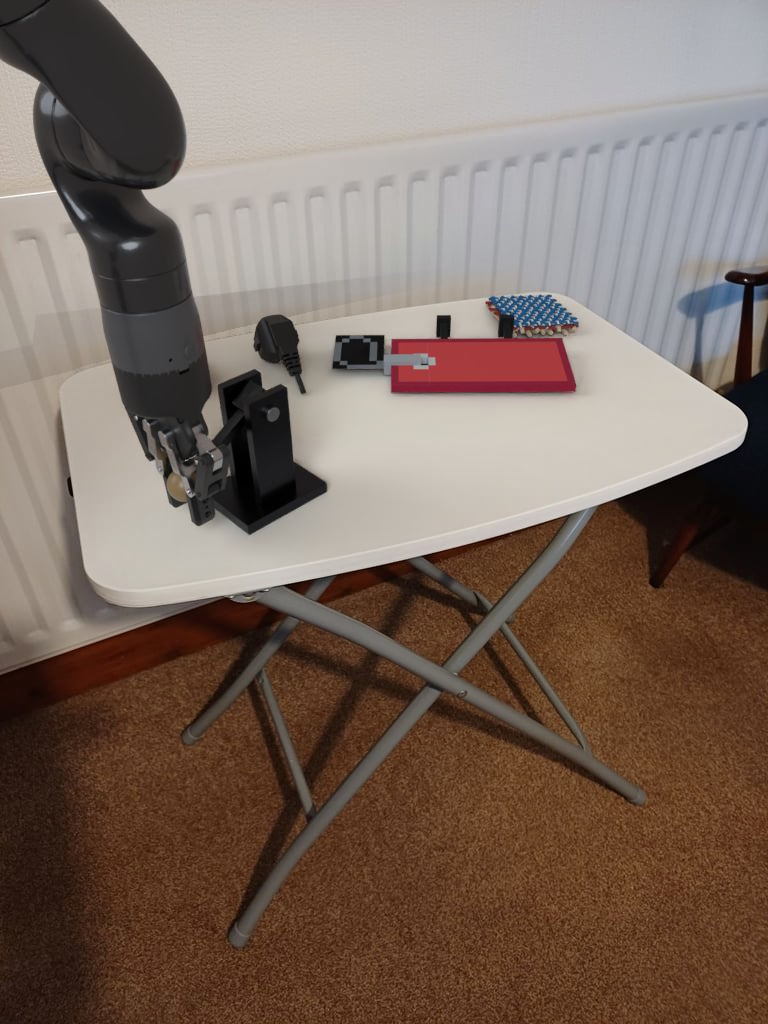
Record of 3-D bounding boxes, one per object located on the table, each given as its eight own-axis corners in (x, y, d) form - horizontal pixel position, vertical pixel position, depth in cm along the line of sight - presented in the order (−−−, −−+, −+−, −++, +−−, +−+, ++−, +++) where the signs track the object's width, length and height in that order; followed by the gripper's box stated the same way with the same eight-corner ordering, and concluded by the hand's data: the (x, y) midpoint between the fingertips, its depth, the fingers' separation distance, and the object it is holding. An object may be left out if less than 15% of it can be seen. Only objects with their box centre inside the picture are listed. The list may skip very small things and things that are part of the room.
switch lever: (192, 513, 72) (172, 497, 70) (174, 498, 74) (153, 482, 72) (282, 407, 74) (265, 387, 72) (261, 395, 76) (244, 375, 74)
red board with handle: (337, 334, 108) (330, 395, 96) (335, 315, 106) (328, 376, 95) (556, 333, 107) (574, 394, 96) (559, 314, 105) (578, 375, 94)
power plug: (282, 394, 95) (250, 309, 97) (275, 420, 102) (245, 340, 104) (326, 384, 97) (293, 301, 99) (315, 410, 103) (285, 332, 106)
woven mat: (481, 307, 114) (483, 294, 113) (547, 305, 117) (550, 292, 116) (509, 338, 106) (512, 324, 105) (579, 335, 109) (583, 321, 108)
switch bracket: (249, 535, 76) (233, 422, 68) (202, 499, 80) (181, 389, 72) (327, 491, 81) (321, 382, 73) (279, 459, 86) (268, 353, 78)
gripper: (73, 334, 65) (119, 496, 76) (164, 396, 58) (201, 567, 69) (151, 307, 69) (185, 464, 80) (247, 361, 62) (269, 527, 73)
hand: (192, 511), depth 74 cm, fingers closed on switch lever, 3 cm apart
